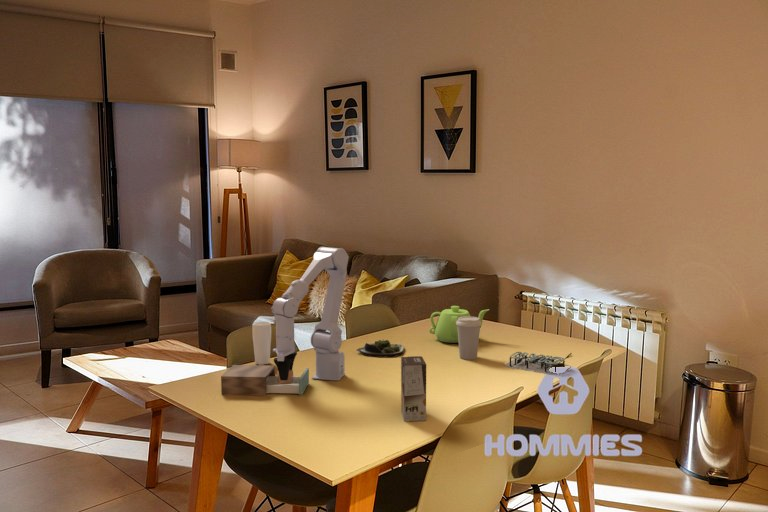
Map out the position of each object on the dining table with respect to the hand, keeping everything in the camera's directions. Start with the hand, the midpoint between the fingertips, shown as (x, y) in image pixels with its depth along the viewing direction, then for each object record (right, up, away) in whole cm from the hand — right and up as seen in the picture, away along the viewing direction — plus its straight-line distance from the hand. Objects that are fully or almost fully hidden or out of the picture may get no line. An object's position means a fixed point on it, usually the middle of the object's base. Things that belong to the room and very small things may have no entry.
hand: (285, 377), depth 210 cm
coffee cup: (+63, 0, +38) cm, 74 cm away
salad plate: (+30, +1, +47) cm, 56 cm away
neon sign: (+90, -1, +32) cm, 96 cm away
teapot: (+63, +3, +66) cm, 91 cm away
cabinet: (-12, -4, +1) cm, 13 cm away
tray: (-1, -4, 0) cm, 4 cm away
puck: (0, -2, 0) cm, 2 cm away
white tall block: (-13, -1, +30) cm, 33 cm away
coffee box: (+40, -7, -24) cm, 47 cm away
